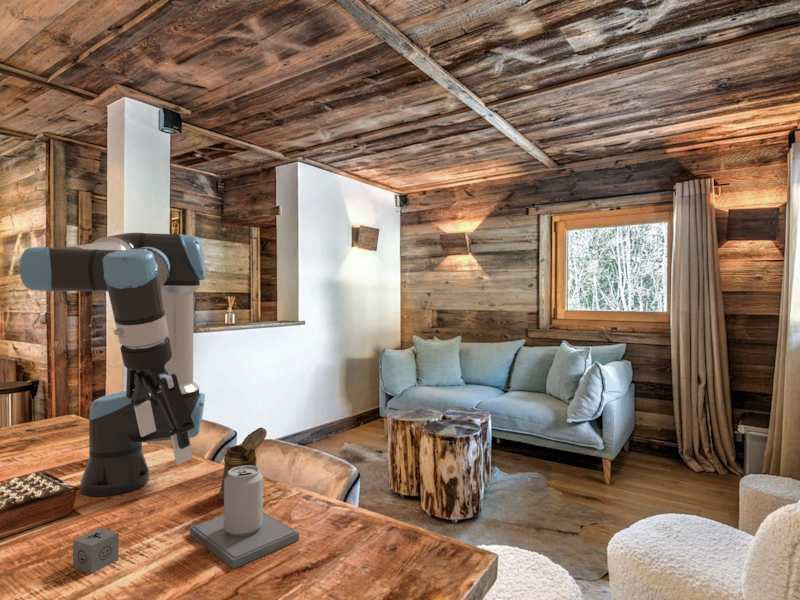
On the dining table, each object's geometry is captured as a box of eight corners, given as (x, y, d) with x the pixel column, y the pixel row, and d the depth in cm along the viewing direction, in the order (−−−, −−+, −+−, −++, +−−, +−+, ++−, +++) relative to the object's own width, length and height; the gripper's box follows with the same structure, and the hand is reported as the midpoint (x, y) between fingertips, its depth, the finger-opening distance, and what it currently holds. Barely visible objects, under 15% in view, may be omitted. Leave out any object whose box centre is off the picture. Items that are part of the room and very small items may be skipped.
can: (226, 541, 90) (226, 479, 90) (221, 524, 97) (221, 466, 97) (266, 533, 94) (266, 472, 94) (258, 517, 101) (259, 461, 100)
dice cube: (100, 554, 89) (100, 527, 89) (118, 560, 87) (118, 533, 87) (72, 567, 84) (73, 539, 84) (91, 574, 82) (91, 546, 82)
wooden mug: (242, 510, 107) (243, 431, 107) (212, 494, 116) (212, 421, 116) (275, 498, 114) (276, 423, 114) (244, 483, 123) (245, 414, 123)
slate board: (189, 534, 96) (189, 526, 96) (251, 511, 107) (251, 504, 107) (233, 569, 84) (233, 559, 84) (298, 540, 95) (299, 531, 95)
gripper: (91, 330, 85) (115, 431, 92) (158, 369, 71) (180, 485, 77) (134, 318, 91) (153, 414, 98) (204, 352, 76) (221, 462, 83)
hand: (165, 446), depth 87 cm, fingers open, 13 cm apart
